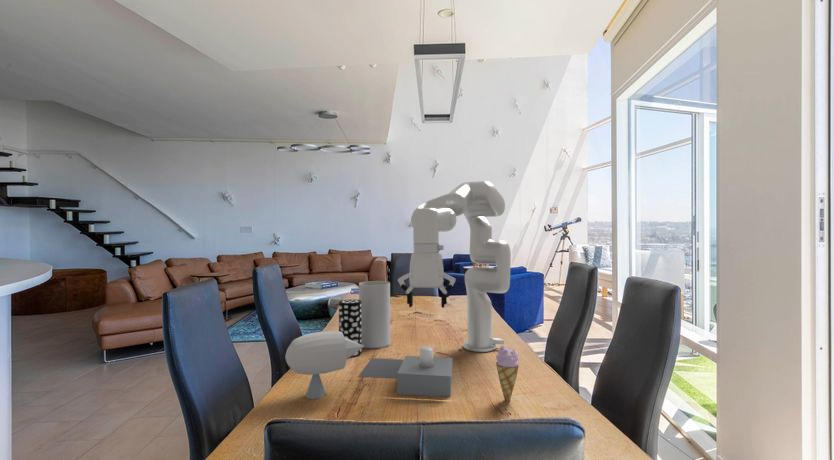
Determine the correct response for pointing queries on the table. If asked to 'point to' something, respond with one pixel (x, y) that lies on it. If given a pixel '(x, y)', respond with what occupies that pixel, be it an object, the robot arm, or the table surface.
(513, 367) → the ice cream cone
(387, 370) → the rubber mat
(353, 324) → the spotted tube
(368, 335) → the cylinder vase
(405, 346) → the table surface
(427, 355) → the lid
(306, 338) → the jet engine
